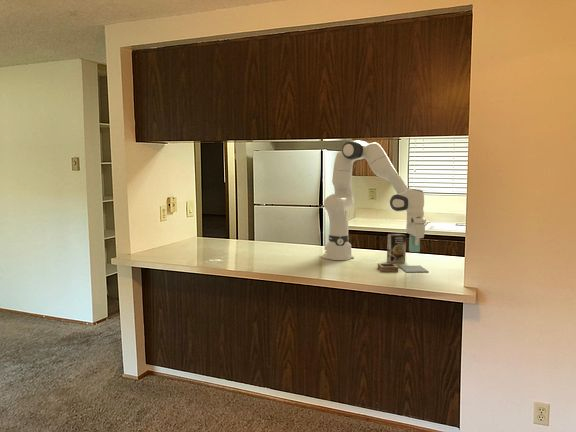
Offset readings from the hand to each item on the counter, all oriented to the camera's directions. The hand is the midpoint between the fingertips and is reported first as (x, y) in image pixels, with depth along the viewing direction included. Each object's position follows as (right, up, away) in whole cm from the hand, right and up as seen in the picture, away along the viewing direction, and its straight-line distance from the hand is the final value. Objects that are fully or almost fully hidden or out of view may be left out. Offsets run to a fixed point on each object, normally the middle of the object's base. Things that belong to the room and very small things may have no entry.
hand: (414, 243), depth 263 cm
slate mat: (0, -14, +2) cm, 14 cm away
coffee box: (-5, -12, +21) cm, 25 cm away
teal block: (0, -4, 0) cm, 4 cm away
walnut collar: (-14, -14, +1) cm, 20 cm away
